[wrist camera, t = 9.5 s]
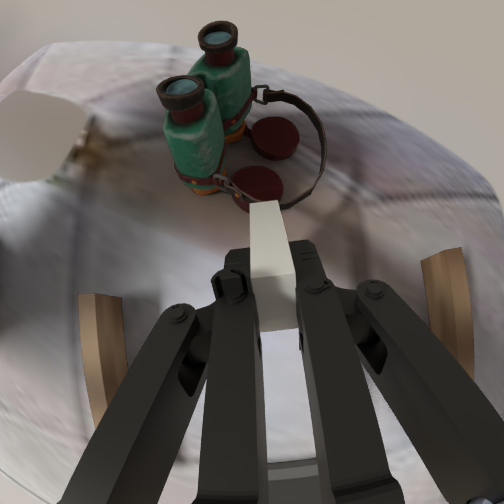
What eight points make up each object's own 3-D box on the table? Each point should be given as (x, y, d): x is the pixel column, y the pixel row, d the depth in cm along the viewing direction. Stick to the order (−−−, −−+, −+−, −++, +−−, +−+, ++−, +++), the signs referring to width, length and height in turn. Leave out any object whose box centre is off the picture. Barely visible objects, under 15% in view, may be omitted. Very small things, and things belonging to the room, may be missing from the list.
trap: (344, 521, 14) (346, 528, 13) (246, 532, 14) (245, 538, 13) (346, 452, 15) (349, 458, 14) (233, 465, 16) (231, 471, 15)
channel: (446, 420, 15) (469, 432, 11) (129, 456, 16) (108, 473, 13) (436, 258, 18) (461, 247, 14) (105, 299, 19) (78, 294, 16)
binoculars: (345, 169, 10) (109, 112, 10) (297, 237, 20) (167, 197, 20) (365, 42, 11) (194, 8, 12) (324, 138, 22) (211, 107, 22)
